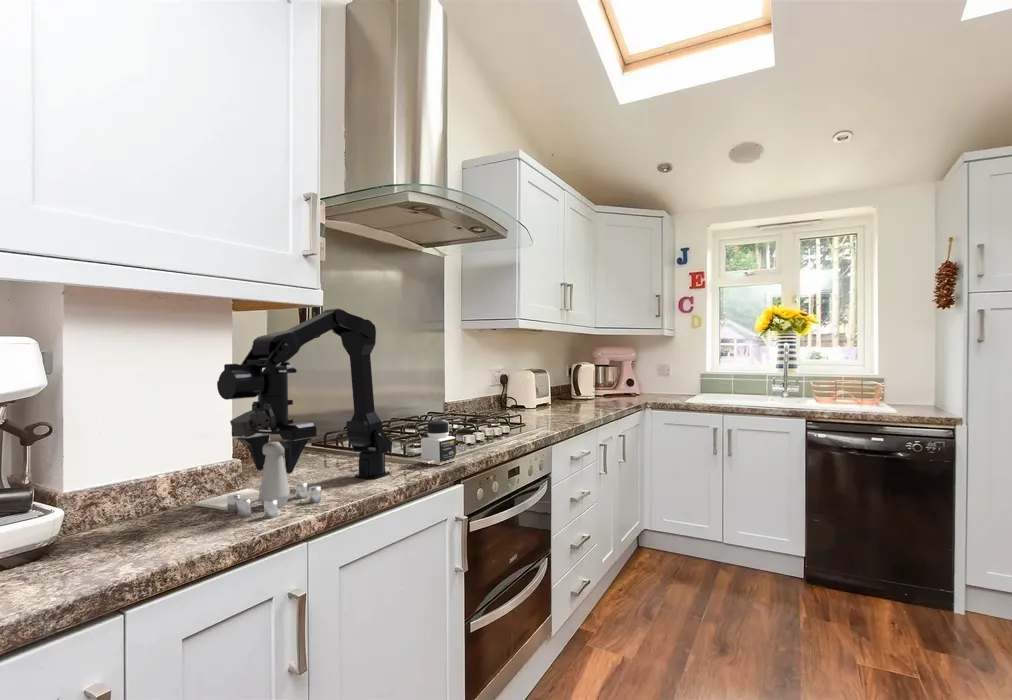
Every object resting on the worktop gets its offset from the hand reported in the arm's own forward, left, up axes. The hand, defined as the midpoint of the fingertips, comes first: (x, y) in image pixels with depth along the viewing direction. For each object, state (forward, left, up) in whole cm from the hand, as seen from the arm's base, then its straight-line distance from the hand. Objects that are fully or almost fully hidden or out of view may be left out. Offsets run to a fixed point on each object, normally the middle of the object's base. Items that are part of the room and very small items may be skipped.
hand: (274, 471), depth 106 cm
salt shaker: (0, 0, -7) cm, 7 cm away
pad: (0, -12, -7) cm, 14 cm away
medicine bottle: (-49, +8, -7) cm, 50 cm away
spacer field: (0, 0, -7) cm, 7 cm away
